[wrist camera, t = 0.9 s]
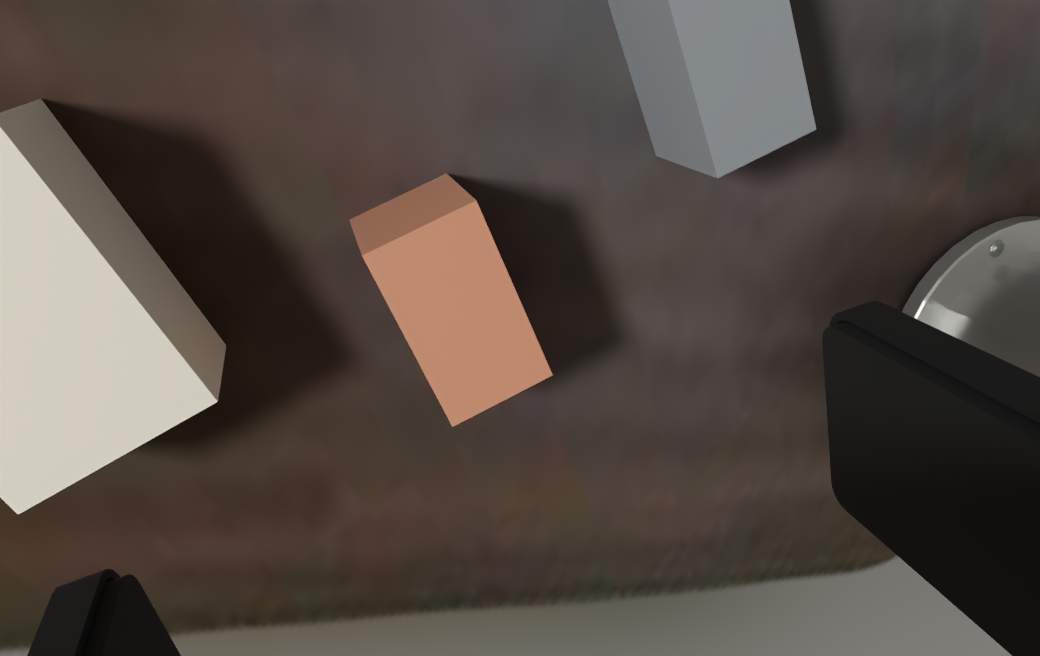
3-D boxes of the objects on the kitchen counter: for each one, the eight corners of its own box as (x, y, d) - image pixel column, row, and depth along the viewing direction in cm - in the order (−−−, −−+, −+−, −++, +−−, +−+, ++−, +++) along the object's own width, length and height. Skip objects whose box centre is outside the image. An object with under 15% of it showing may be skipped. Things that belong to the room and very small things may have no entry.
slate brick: (740, 113, 32) (816, 129, 27) (655, 155, 31) (717, 178, 27) (695, -66, 29) (772, -82, 24) (599, -22, 28) (659, -30, 24)
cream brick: (226, 343, 29) (217, 401, 25) (58, 437, 29) (18, 514, 24) (42, 98, 25) (-9, 115, 20) (-161, 204, 24) (-260, 246, 20)
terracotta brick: (514, 326, 32) (553, 375, 28) (428, 369, 32) (452, 426, 27) (446, 172, 29) (476, 200, 25) (349, 219, 29) (362, 255, 24)
